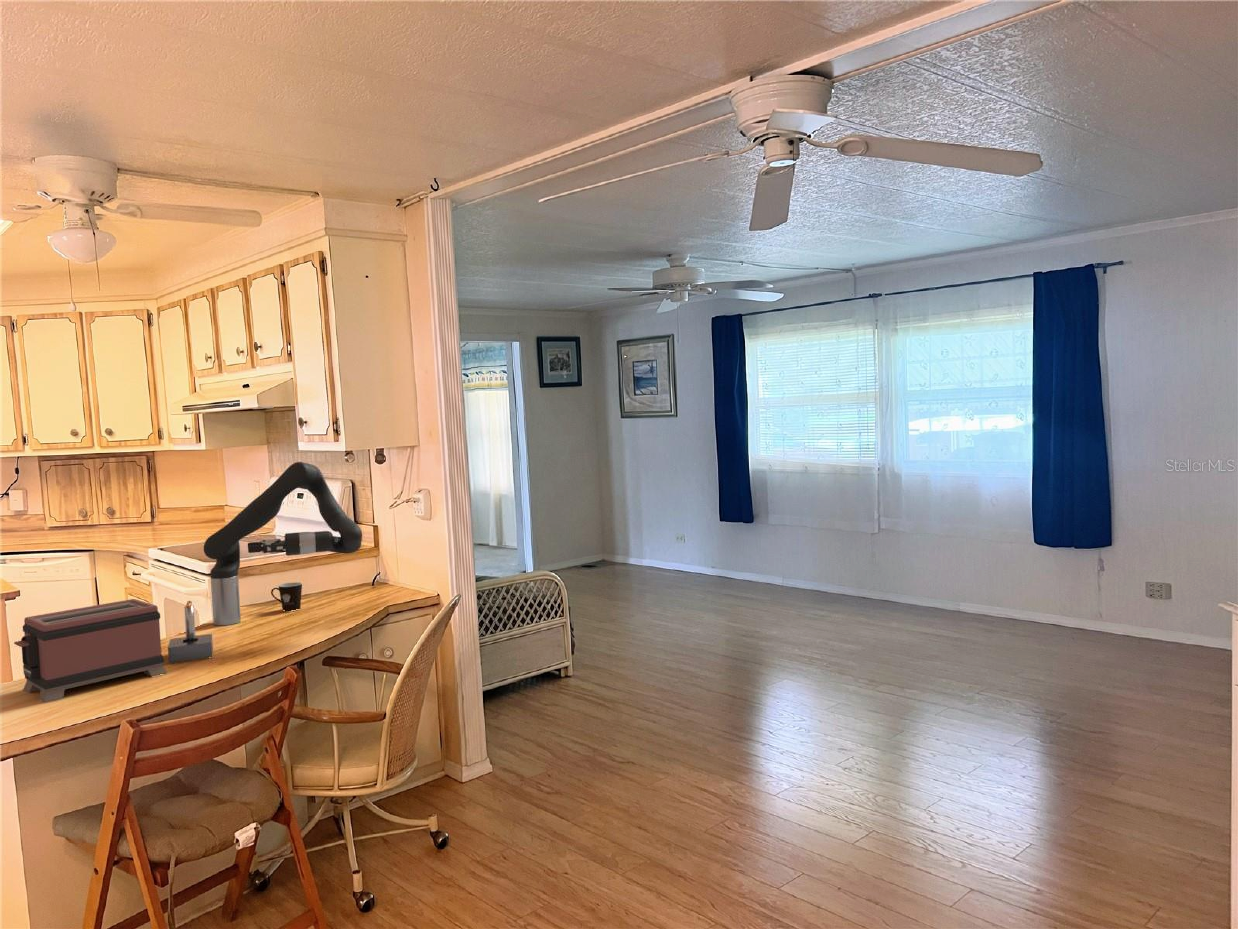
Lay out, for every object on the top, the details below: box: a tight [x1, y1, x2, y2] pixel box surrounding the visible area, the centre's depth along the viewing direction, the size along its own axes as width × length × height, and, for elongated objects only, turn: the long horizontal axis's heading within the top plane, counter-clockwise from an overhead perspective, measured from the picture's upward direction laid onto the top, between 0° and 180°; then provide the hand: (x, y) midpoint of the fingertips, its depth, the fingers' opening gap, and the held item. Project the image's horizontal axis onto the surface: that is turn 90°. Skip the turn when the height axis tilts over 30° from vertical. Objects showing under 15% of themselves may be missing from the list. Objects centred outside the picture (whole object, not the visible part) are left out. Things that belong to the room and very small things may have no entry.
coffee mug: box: [270, 581, 303, 611], centre depth 330 cm, size 12×9×10 cm
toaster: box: [13, 598, 168, 704], centre depth 241 cm, size 19×34×21 cm, turn 140°
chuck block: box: [167, 633, 214, 665], centre depth 267 cm, size 12×12×5 cm
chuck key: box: [183, 600, 196, 643], centre depth 266 cm, size 6×3×16 cm, turn 24°
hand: (247, 547), depth 278 cm, fingers open, 8 cm apart
